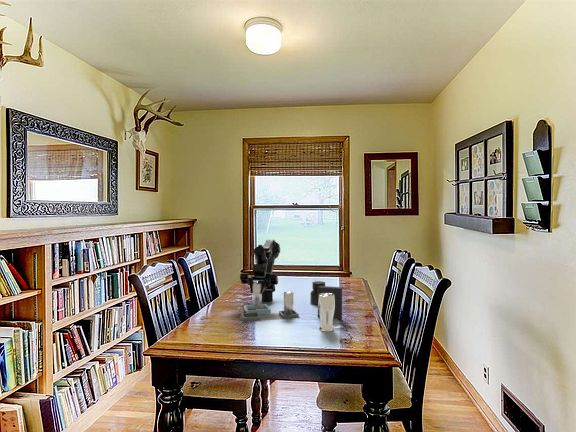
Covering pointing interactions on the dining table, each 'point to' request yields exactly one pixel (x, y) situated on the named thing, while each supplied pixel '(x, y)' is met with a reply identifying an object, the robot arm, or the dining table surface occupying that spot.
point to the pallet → (267, 316)
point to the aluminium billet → (256, 295)
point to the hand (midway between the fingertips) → (256, 293)
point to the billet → (288, 302)
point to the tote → (257, 308)
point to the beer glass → (326, 311)
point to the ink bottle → (315, 292)
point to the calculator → (338, 299)
